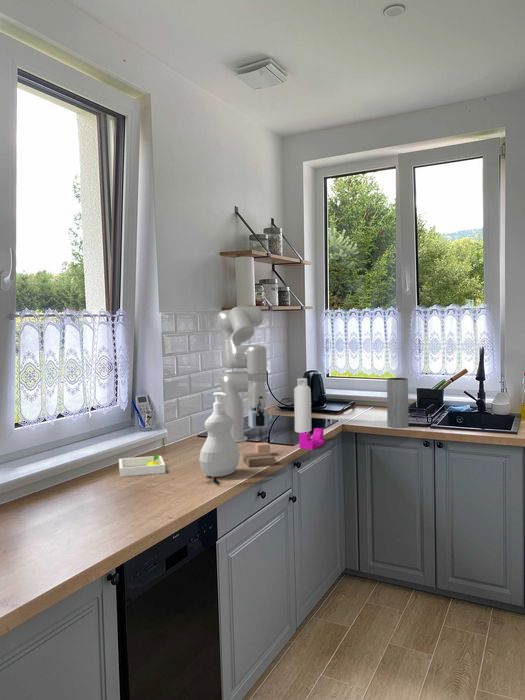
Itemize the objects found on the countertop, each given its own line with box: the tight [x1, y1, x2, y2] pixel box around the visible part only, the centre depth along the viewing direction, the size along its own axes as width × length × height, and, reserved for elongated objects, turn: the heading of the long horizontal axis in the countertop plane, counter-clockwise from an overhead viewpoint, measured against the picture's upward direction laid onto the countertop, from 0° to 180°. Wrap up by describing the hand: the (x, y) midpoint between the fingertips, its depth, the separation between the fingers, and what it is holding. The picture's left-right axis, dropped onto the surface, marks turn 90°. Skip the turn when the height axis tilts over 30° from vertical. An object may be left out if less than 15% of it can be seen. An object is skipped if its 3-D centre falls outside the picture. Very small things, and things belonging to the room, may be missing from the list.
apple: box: [146, 454, 160, 466], centre depth 212 cm, size 7×6×9 cm
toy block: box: [298, 427, 325, 450], centre depth 242 cm, size 15×6×8 cm, turn 146°
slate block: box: [247, 409, 269, 429], centre depth 215 cm, size 6×6×6 cm
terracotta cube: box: [254, 441, 271, 454], centre depth 228 cm, size 5×5×5 cm
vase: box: [386, 377, 410, 429], centre depth 270 cm, size 10×10×27 cm
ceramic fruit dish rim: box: [118, 455, 166, 478], centre depth 208 cm, size 16×16×3 cm
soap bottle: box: [198, 391, 241, 478], centre depth 199 cm, size 17×12×29 cm
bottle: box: [293, 377, 312, 434], centre depth 268 cm, size 8×8×28 cm
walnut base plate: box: [242, 452, 276, 468], centre depth 215 cm, size 10×10×3 cm
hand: (257, 424), depth 215 cm, fingers closed on slate block, 5 cm apart
